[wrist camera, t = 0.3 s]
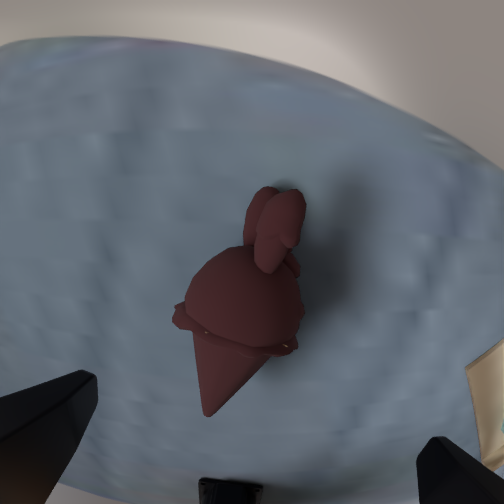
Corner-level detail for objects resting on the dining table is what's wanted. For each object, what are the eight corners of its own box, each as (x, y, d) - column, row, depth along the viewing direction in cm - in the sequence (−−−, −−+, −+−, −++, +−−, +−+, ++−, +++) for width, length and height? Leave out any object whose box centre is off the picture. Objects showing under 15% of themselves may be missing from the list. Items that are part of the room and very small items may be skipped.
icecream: (272, 456, 17) (376, 217, 14) (149, 444, 15) (223, 162, 12) (249, 392, 23) (318, 202, 21) (154, 375, 21) (209, 166, 19)
